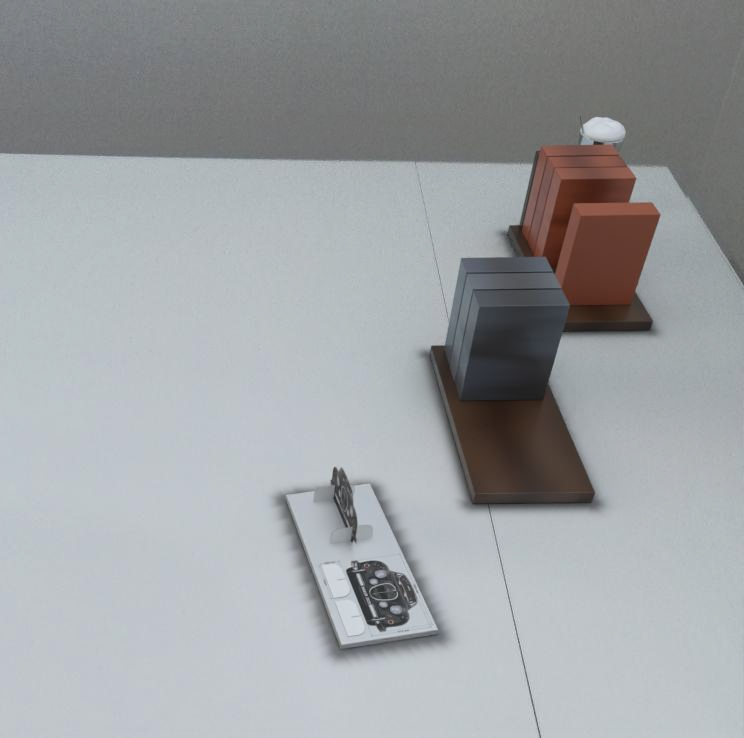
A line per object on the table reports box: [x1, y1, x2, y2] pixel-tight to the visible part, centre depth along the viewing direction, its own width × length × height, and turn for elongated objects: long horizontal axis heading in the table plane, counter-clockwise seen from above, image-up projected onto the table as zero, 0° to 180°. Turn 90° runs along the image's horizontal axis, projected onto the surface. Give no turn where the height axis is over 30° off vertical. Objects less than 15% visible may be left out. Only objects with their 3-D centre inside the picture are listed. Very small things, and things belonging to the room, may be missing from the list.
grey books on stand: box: [429, 256, 596, 504], centre depth 78 cm, size 9×20×10 cm, turn 0°
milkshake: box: [577, 114, 627, 154], centre depth 105 cm, size 5×5×10 cm
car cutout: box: [285, 466, 439, 650], centre depth 68 cm, size 15×7×4 cm, turn 11°
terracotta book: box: [555, 201, 662, 305], centre depth 90 cm, size 7×2×9 cm, turn 90°
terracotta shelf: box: [507, 144, 654, 332], centre depth 94 cm, size 9×19×10 cm, turn 0°
